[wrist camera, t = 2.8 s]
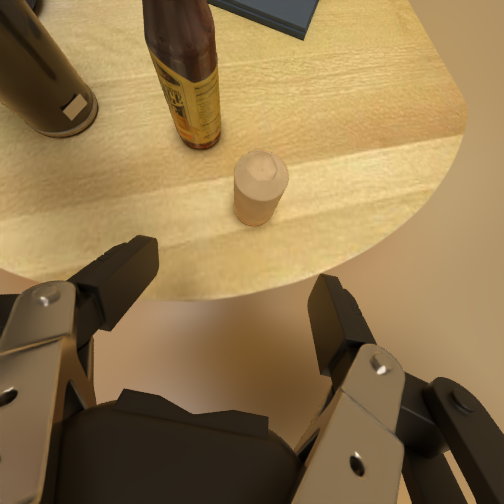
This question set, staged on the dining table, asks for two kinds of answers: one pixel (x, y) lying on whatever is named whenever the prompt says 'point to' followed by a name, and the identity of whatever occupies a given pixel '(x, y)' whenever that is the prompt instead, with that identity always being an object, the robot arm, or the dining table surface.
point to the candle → (258, 186)
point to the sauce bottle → (186, 65)
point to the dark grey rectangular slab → (274, 13)
